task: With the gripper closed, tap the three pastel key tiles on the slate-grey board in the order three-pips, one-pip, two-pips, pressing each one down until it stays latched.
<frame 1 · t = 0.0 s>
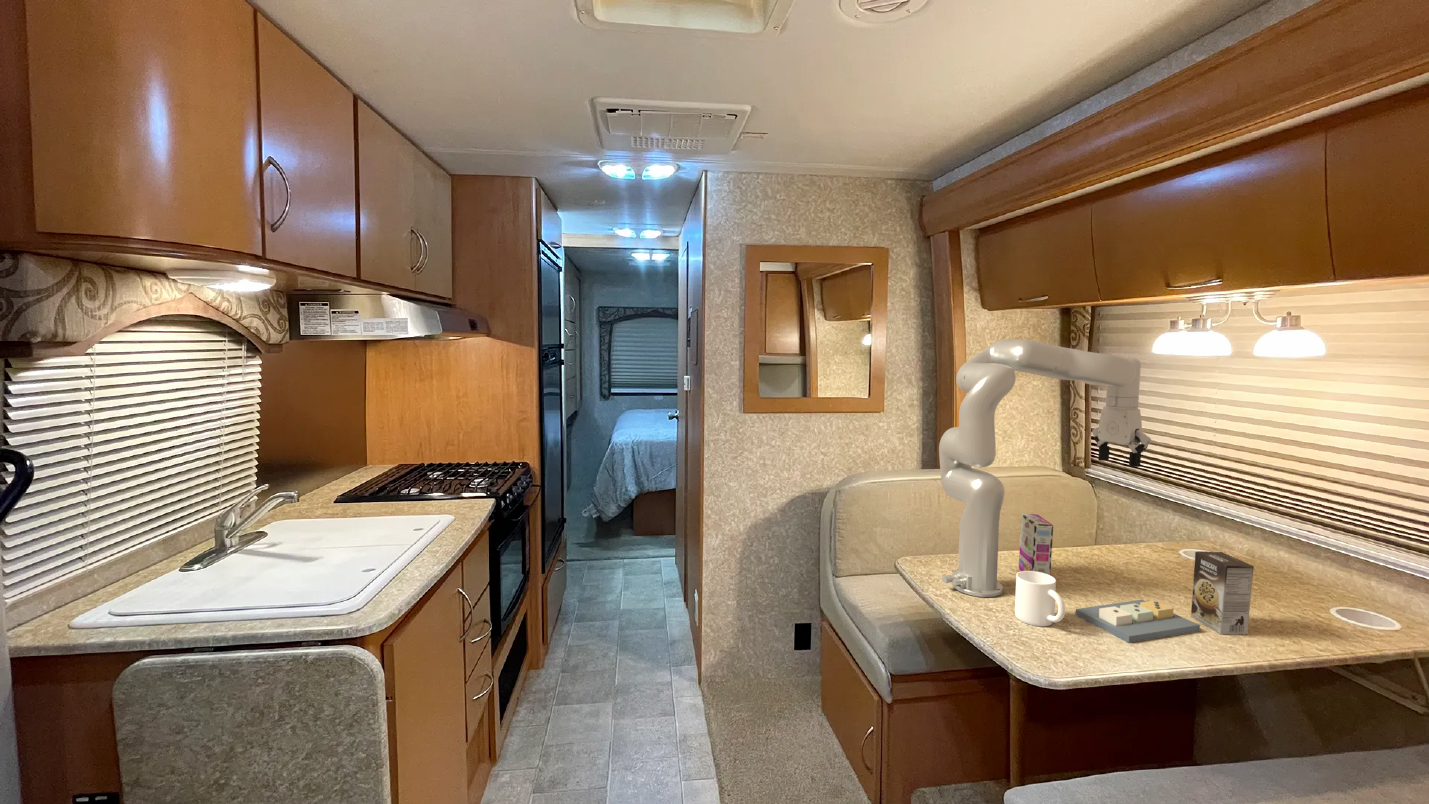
hand: (1118, 463, 169), 31 cm above the table, fingers open, 9 cm apart
tile 3: (1156, 609, 142), point 2 cm above the table, slide at 0.0 cm
board: (1135, 622, 140), on the table
candy bar box: (1034, 576, 169), on the table
coffee box: (1218, 626, 139), on the table
tile 1: (1115, 615, 139), point 2 cm above the table, slide at 0.0 cm
mug: (1040, 623, 141), on the table
tile 2: (1136, 612, 140), point 3 cm above the table, slide at 0.0 cm
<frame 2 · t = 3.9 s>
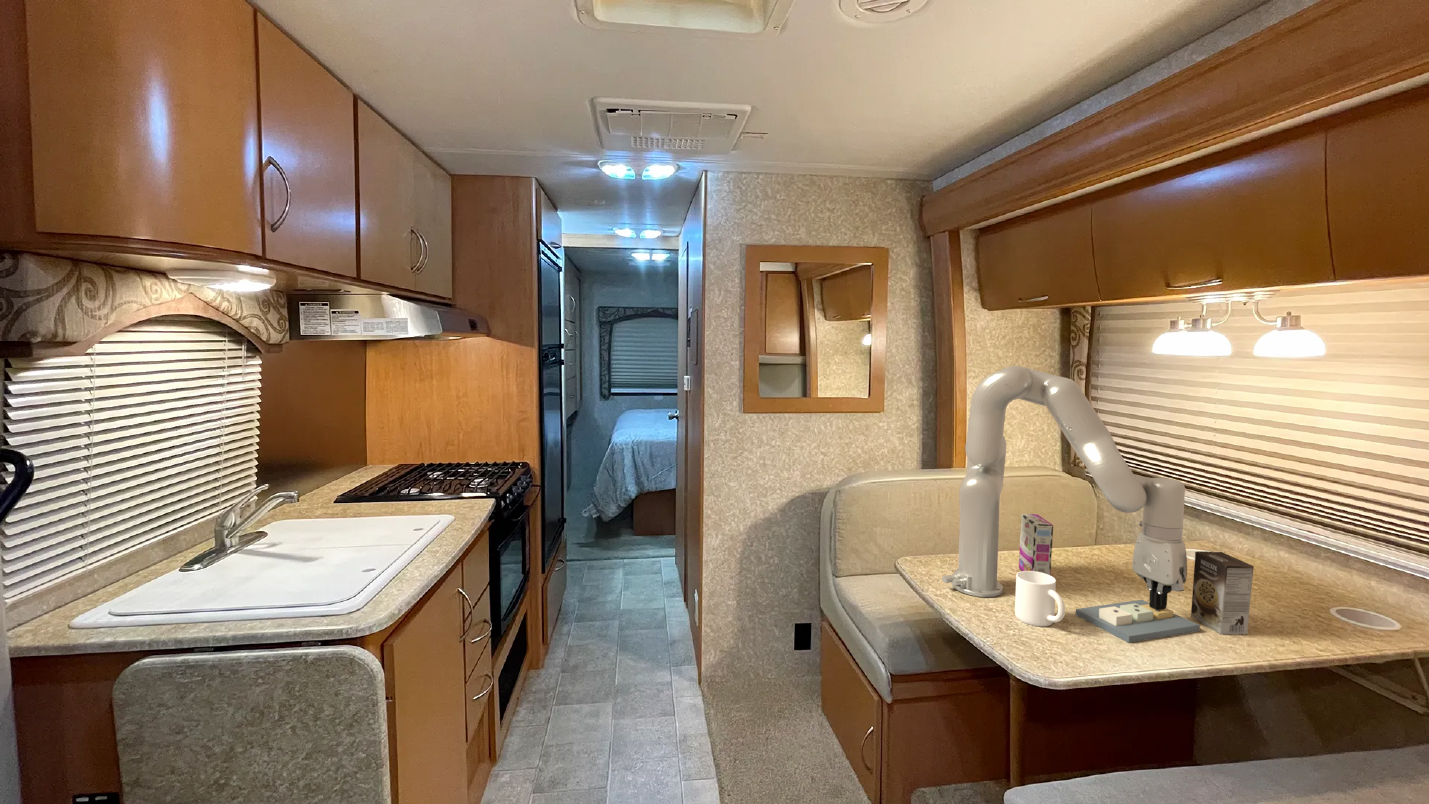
hand: (1157, 607, 141), 3 cm above the table, fingers closed
tile 3: (1156, 612, 142), point 2 cm above the table, slide at -0.7 cm, touching gripper
everything else where it was.
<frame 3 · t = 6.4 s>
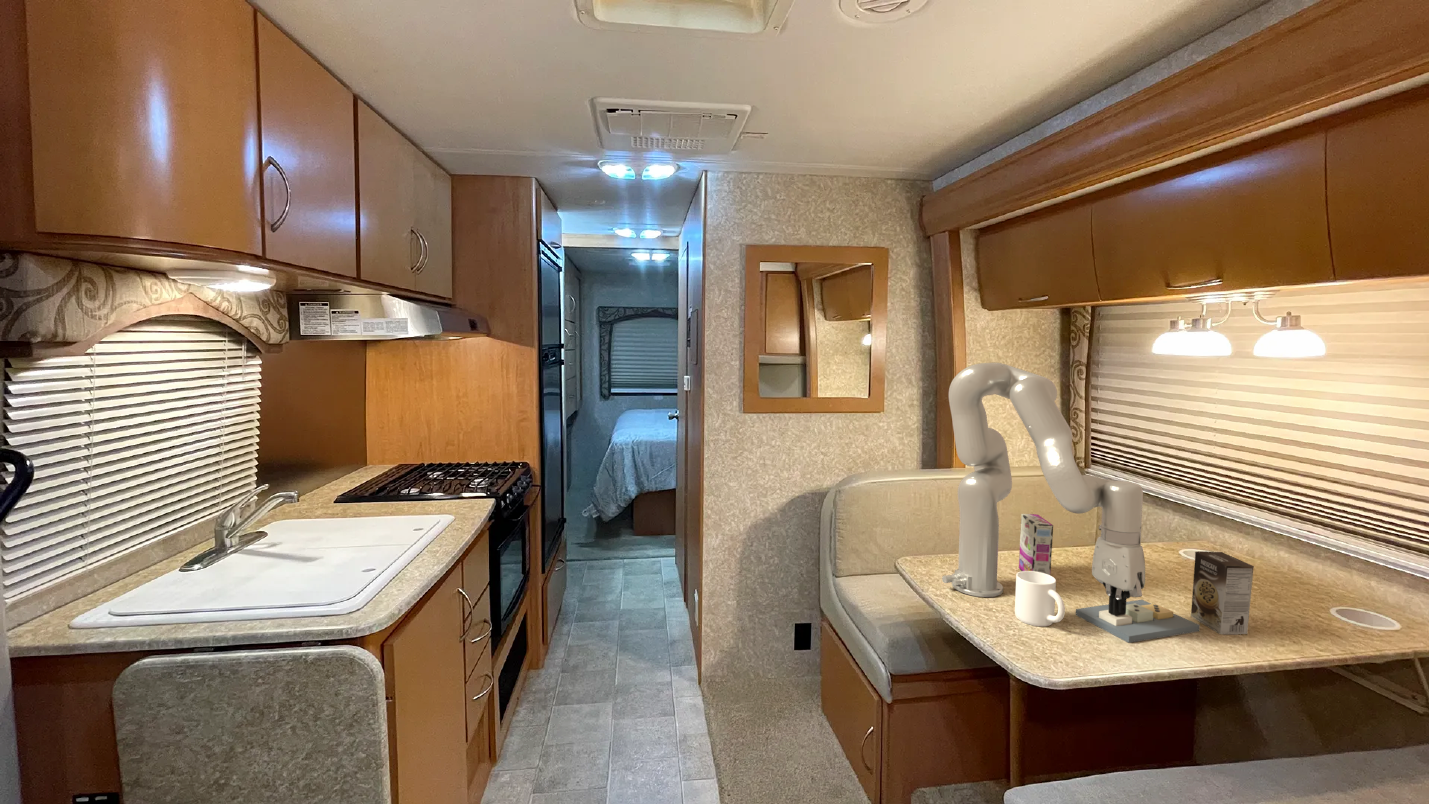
hand: (1117, 613, 138), 3 cm above the table, fingers closed
tile 3: (1156, 612, 142), point 2 cm above the table, slide at -0.8 cm
tile 1: (1115, 618, 139), point 2 cm above the table, slide at -0.6 cm, touching gripper
everything else where it was.
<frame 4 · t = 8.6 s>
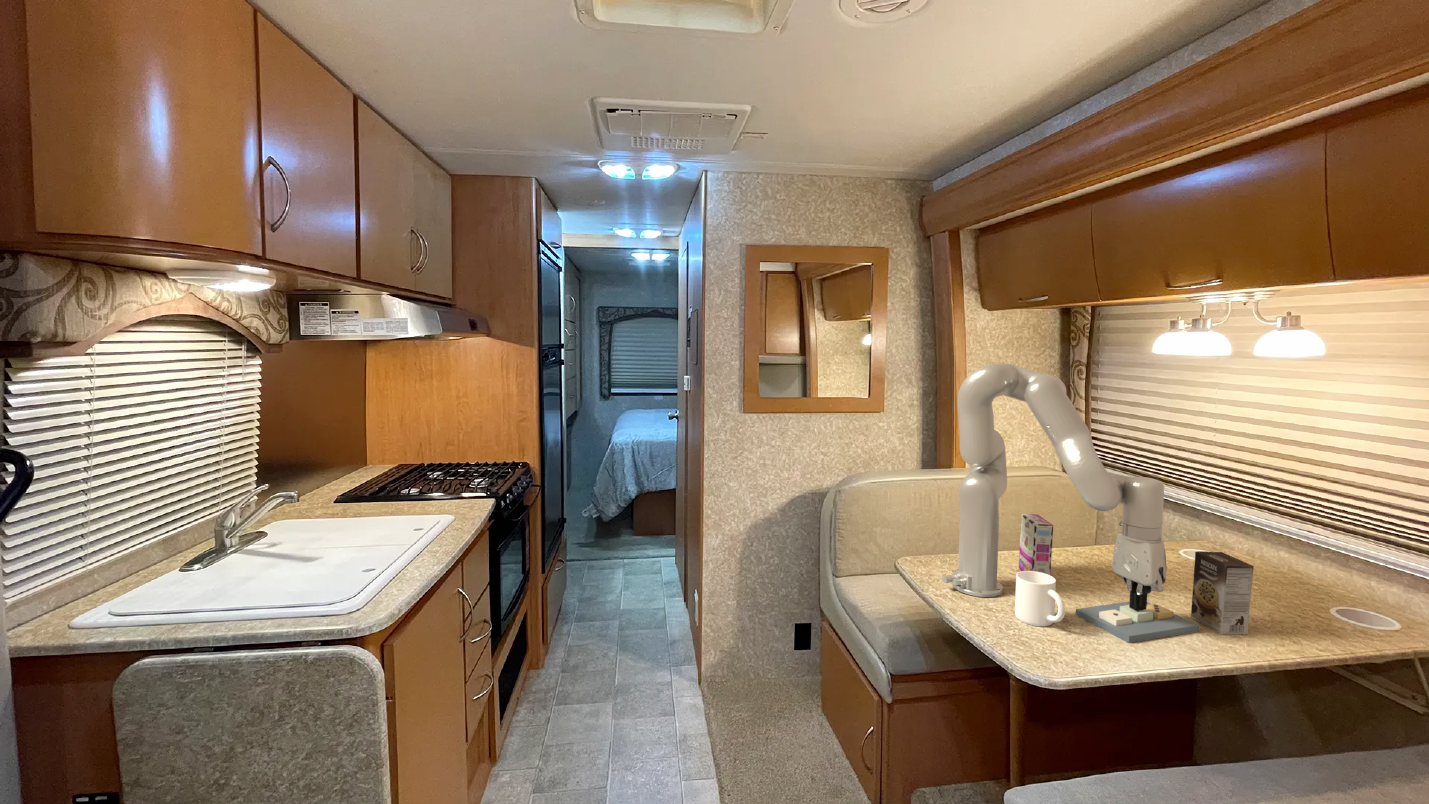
hand: (1137, 608, 140), 4 cm above the table, fingers closed
tile 1: (1115, 618, 139), point 2 cm above the table, slide at -0.8 cm
tile 2: (1136, 613, 140), point 2 cm above the table, slide at -0.2 cm, touching gripper
everything else where it was.
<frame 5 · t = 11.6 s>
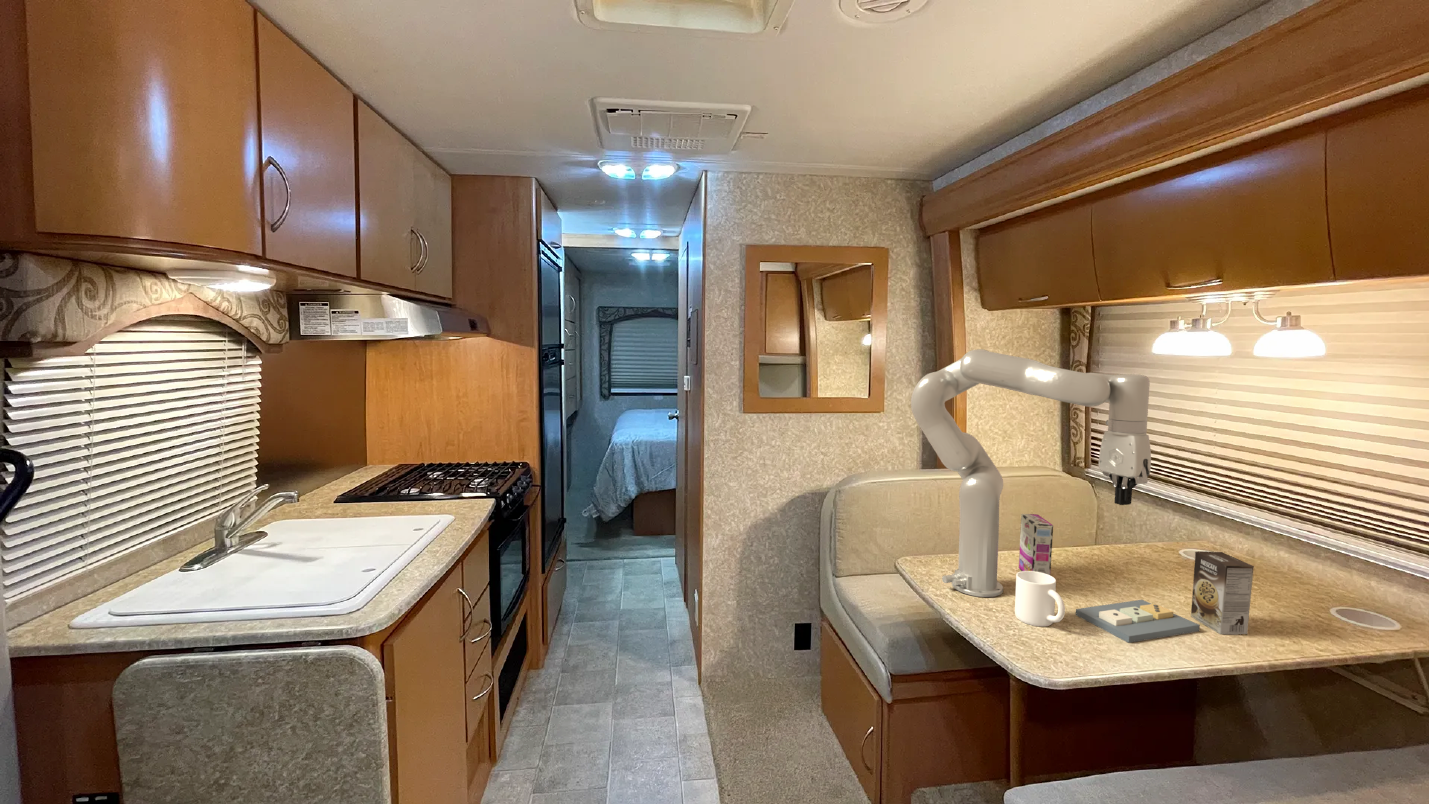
hand: (1122, 503, 143), 27 cm above the table, fingers closed
tile 2: (1136, 615, 140), point 2 cm above the table, slide at -0.8 cm
everything else where it was.
at the end: tile 3 slide at -0.8 cm; tile 1 slide at -0.8 cm; tile 2 slide at -0.8 cm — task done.
